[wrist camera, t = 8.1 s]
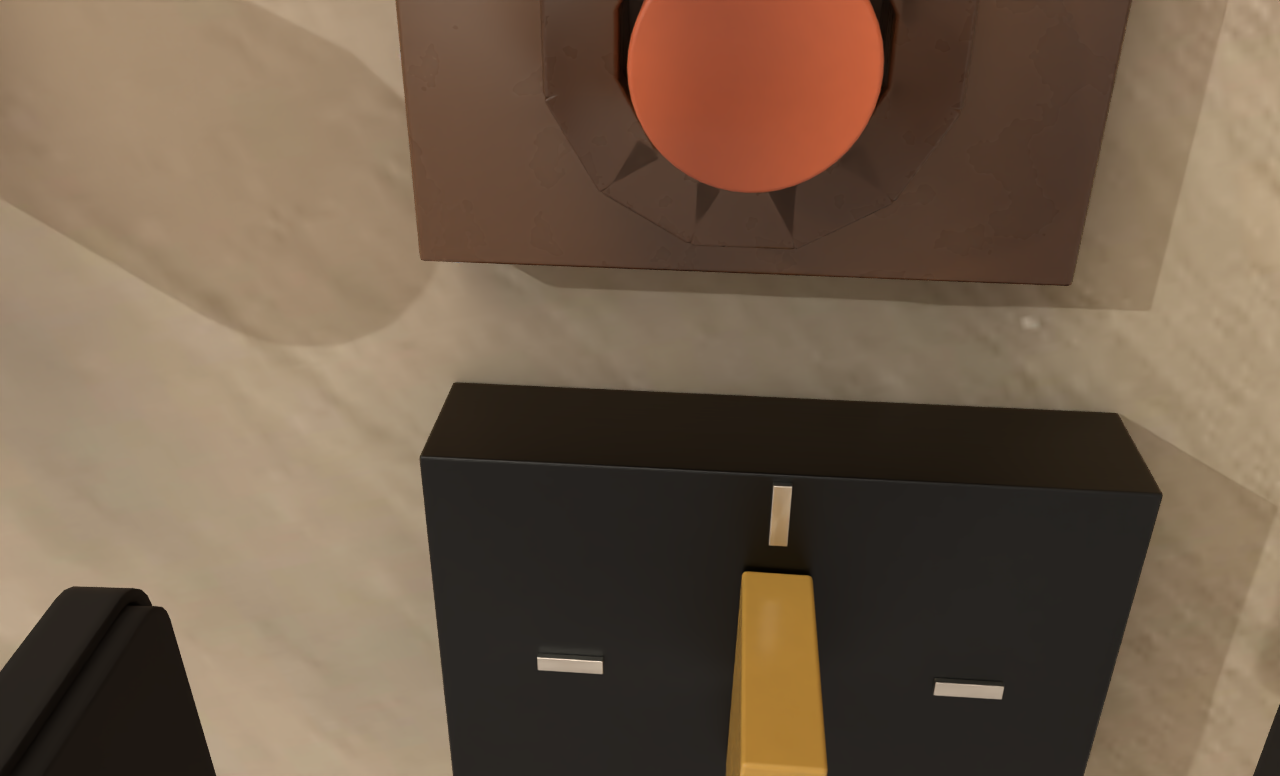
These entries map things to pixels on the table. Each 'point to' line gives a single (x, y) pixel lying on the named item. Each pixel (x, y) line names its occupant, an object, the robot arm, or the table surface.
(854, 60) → the button
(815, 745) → the yellow flat block
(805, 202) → the button block
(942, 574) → the plate
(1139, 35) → the table surface
